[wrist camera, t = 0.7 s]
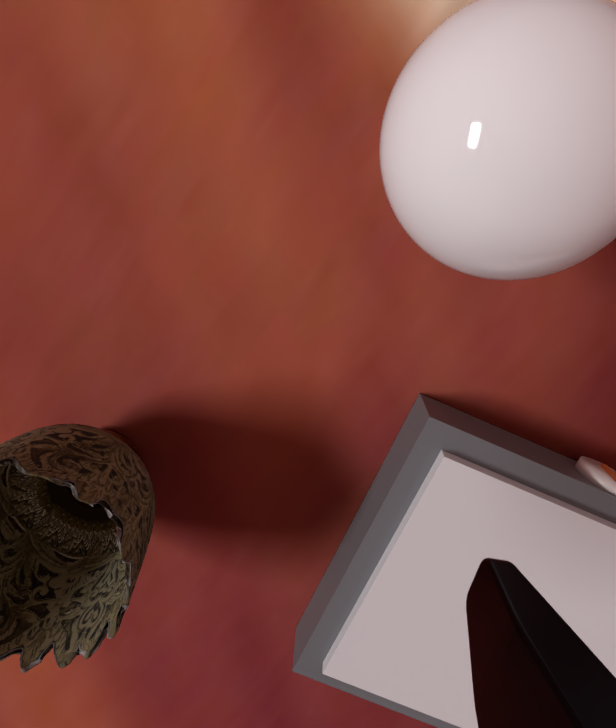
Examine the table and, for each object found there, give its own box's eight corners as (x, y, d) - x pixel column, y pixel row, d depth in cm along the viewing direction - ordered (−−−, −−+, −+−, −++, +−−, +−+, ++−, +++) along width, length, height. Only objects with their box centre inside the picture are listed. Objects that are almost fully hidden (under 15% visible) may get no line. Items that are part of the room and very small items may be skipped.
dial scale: (591, 743, 28) (622, 810, 25) (296, 627, 27) (291, 682, 24) (760, 527, 25) (821, 574, 21) (425, 381, 23) (439, 409, 20)
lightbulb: (574, 123, 20) (829, 46, 10) (477, 279, 22) (605, 357, 12) (420, 32, 20) (518, -153, 9) (333, 200, 22) (331, 205, 11)
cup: (-9, 428, 25) (-162, 531, 17) (129, 351, 24) (29, 426, 16) (88, 558, 27) (-11, 705, 19) (222, 493, 25) (172, 623, 18)
